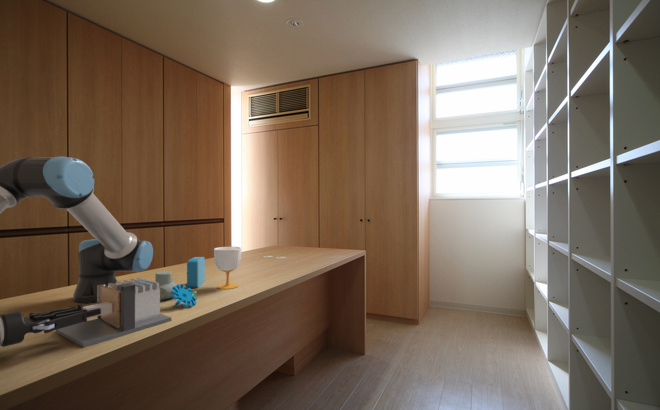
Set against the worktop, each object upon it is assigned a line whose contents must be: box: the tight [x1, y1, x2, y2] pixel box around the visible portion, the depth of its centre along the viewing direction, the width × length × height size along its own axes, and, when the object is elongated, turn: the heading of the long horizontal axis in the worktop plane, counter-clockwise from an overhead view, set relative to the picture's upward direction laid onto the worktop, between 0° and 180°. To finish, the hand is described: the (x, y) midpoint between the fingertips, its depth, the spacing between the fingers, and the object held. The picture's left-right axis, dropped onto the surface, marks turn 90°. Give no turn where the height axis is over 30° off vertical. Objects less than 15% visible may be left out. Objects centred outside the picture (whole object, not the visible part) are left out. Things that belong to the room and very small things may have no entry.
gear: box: [171, 283, 198, 308], centre depth 123 cm, size 11×6×10 cm
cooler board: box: [55, 283, 172, 348], centre depth 102 cm, size 18×24×14 cm
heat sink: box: [108, 277, 161, 324], centre depth 106 cm, size 12×10×11 cm
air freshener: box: [154, 270, 178, 301], centre depth 132 cm, size 11×8×10 cm
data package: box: [186, 256, 206, 289], centre depth 153 cm, size 12×4×12 cm, turn 6°
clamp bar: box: [96, 284, 121, 328], centre depth 101 cm, size 15×2×10 cm, turn 52°
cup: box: [213, 246, 242, 290], centre depth 151 cm, size 12×12×17 cm
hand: (110, 307), depth 99 cm, fingers closed
